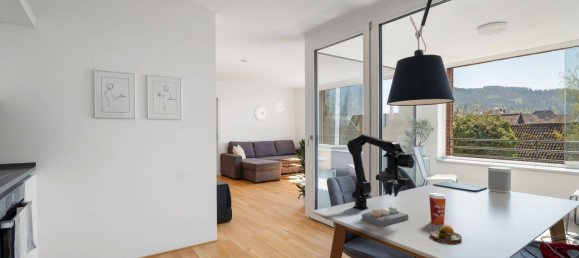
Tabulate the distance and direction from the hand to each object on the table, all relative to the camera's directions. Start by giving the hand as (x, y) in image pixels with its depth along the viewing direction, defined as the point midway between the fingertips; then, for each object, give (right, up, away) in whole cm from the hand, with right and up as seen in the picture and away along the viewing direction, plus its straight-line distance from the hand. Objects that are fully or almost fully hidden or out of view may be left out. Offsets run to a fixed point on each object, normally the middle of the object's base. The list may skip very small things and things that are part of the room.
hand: (392, 196), depth 147 cm
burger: (+12, -12, -28) cm, 32 cm away
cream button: (-5, -10, -3) cm, 11 cm away
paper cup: (+19, -11, -9) cm, 23 cm away
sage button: (0, -10, 0) cm, 10 cm away
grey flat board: (-5, -11, -3) cm, 13 cm away
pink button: (-10, -10, -6) cm, 15 cm away
